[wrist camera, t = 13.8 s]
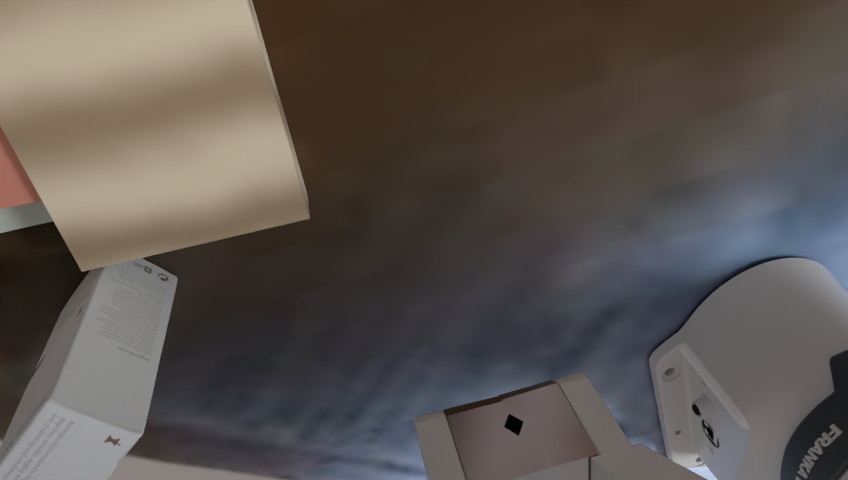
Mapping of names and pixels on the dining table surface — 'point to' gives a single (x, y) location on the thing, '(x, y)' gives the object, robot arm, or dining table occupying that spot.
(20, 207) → the mat
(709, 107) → the dining table surface
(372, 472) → the dining table surface
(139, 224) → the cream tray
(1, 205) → the pink tray
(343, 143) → the dining table surface
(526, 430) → the robot arm
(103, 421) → the skincare box
